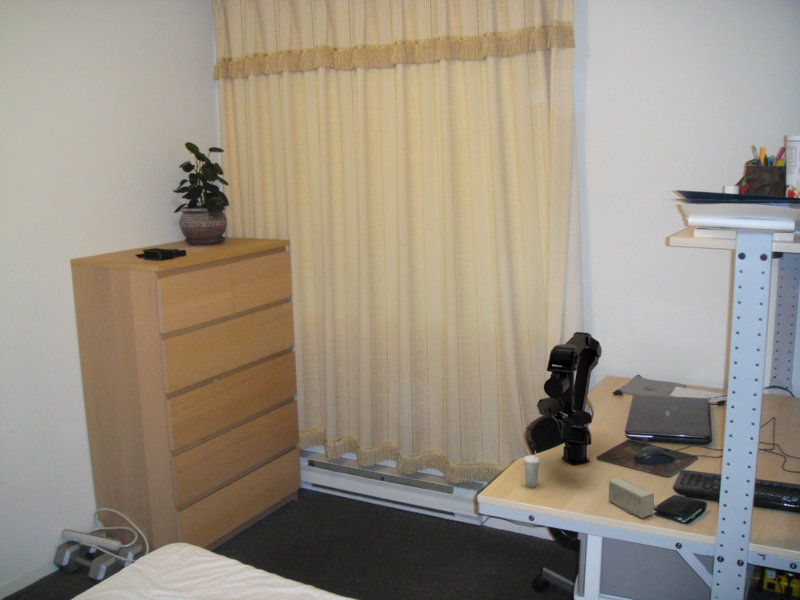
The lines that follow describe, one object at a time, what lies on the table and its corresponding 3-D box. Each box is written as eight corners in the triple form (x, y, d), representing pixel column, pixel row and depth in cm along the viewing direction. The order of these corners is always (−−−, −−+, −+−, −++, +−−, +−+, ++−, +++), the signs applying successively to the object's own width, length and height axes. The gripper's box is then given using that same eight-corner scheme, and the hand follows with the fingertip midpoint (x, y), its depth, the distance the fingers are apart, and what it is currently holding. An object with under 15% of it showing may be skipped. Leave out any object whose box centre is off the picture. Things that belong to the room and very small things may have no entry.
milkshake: (542, 489, 202) (542, 457, 201) (523, 488, 203) (523, 456, 202) (542, 483, 207) (542, 451, 205) (523, 482, 208) (523, 450, 206)
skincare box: (618, 496, 196) (653, 514, 185) (607, 500, 194) (641, 519, 183) (619, 475, 195) (654, 492, 184) (608, 479, 193) (643, 497, 182)
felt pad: (637, 495, 197) (637, 494, 197) (657, 507, 189) (657, 506, 189) (611, 502, 194) (611, 501, 193) (630, 514, 186) (630, 513, 186)
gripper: (523, 384, 211) (523, 433, 214) (562, 401, 195) (561, 454, 197) (553, 378, 216) (552, 426, 219) (593, 394, 199) (592, 446, 202)
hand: (563, 438), depth 209 cm, fingers closed
